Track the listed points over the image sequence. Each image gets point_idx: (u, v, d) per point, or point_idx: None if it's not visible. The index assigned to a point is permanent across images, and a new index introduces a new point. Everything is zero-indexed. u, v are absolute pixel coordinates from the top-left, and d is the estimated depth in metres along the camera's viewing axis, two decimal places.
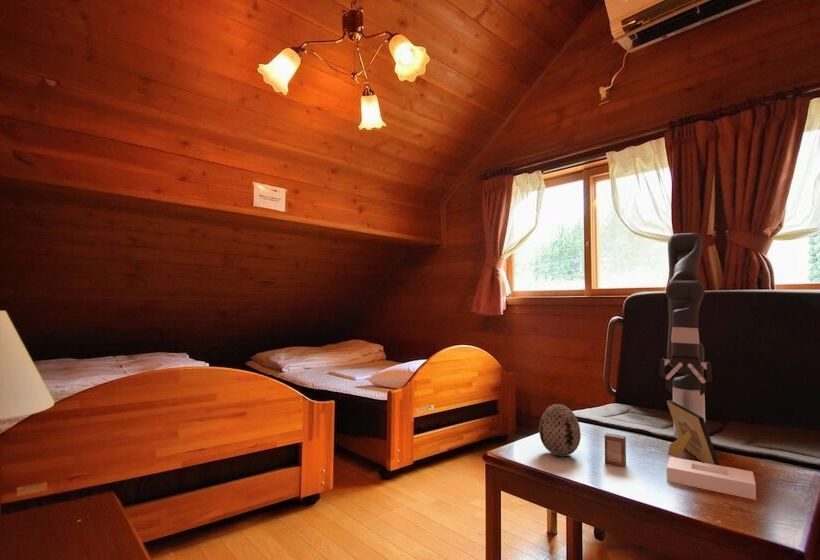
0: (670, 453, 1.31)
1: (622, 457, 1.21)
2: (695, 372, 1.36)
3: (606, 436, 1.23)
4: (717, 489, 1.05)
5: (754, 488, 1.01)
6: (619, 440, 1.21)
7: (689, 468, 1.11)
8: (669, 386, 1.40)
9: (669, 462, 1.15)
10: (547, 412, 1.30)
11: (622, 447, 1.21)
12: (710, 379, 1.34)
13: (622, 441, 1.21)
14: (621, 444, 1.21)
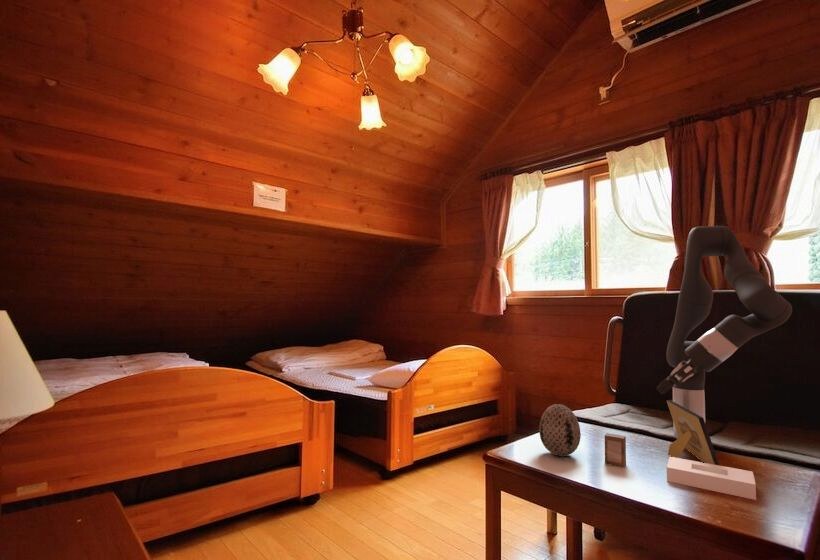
0: (670, 453, 1.31)
1: (622, 457, 1.21)
2: None
3: (606, 436, 1.23)
4: (717, 489, 1.05)
5: (754, 488, 1.01)
6: (619, 440, 1.21)
7: (689, 468, 1.11)
8: (667, 390, 1.13)
9: (669, 462, 1.15)
10: (547, 412, 1.30)
11: (622, 447, 1.21)
12: None
13: (622, 441, 1.21)
14: (621, 444, 1.21)
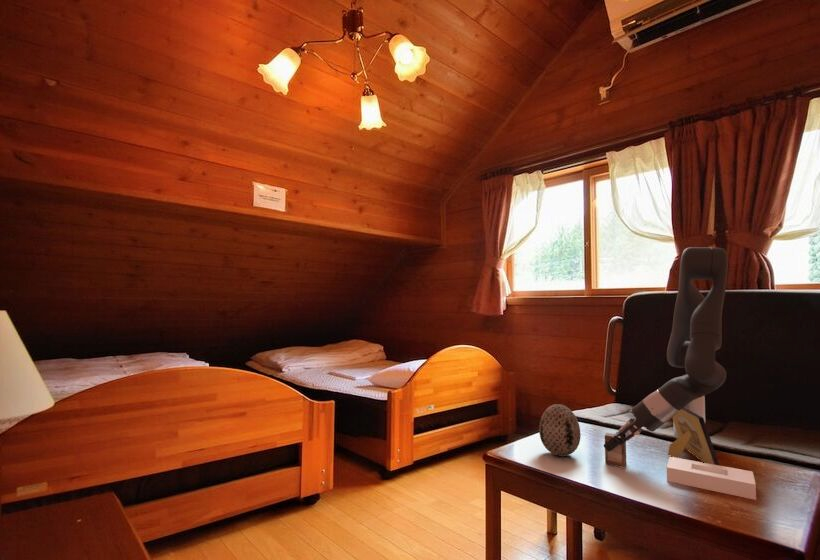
0: (670, 453, 1.31)
1: (622, 457, 1.21)
2: None
3: (606, 436, 1.23)
4: (717, 489, 1.05)
5: (754, 488, 1.01)
6: None
7: (689, 468, 1.11)
8: (613, 448, 1.22)
9: (669, 462, 1.15)
10: (547, 412, 1.30)
11: (622, 447, 1.21)
12: None
13: None
14: None
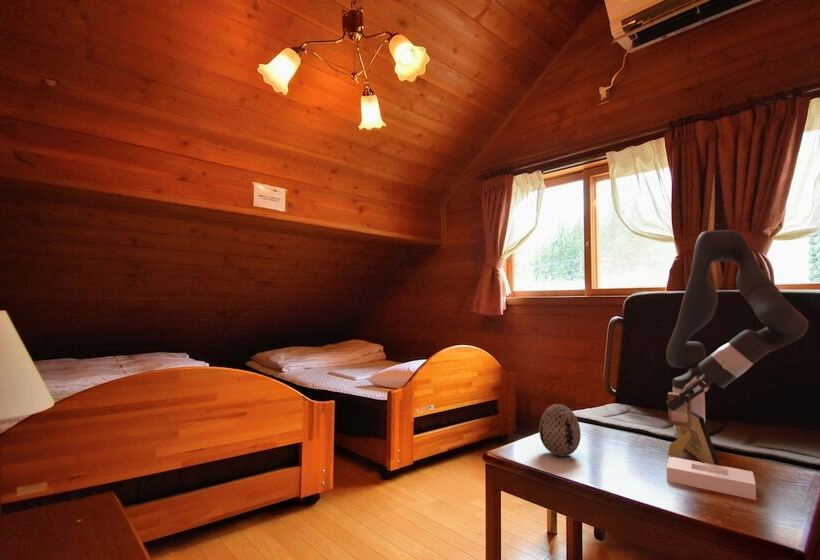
0: (670, 453, 1.31)
1: (688, 416, 1.12)
2: None
3: (669, 395, 1.15)
4: (717, 489, 1.05)
5: (754, 488, 1.01)
6: None
7: (689, 468, 1.11)
8: (678, 407, 1.14)
9: (669, 462, 1.15)
10: (547, 412, 1.30)
11: (688, 405, 1.13)
12: None
13: None
14: (687, 402, 1.13)
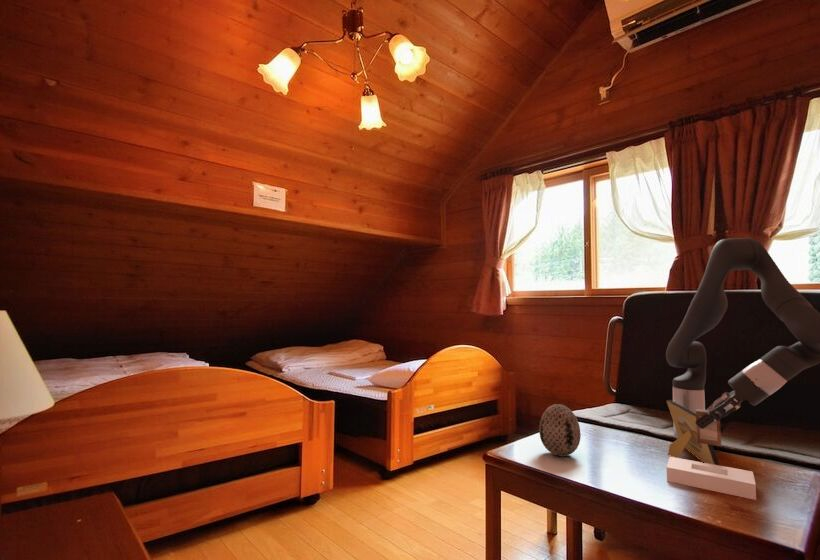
0: (670, 453, 1.31)
1: (718, 434, 1.09)
2: None
3: (698, 412, 1.11)
4: (717, 489, 1.05)
5: (754, 488, 1.01)
6: None
7: (689, 468, 1.11)
8: (707, 425, 1.10)
9: (669, 462, 1.15)
10: (547, 412, 1.30)
11: (718, 423, 1.09)
12: None
13: None
14: None
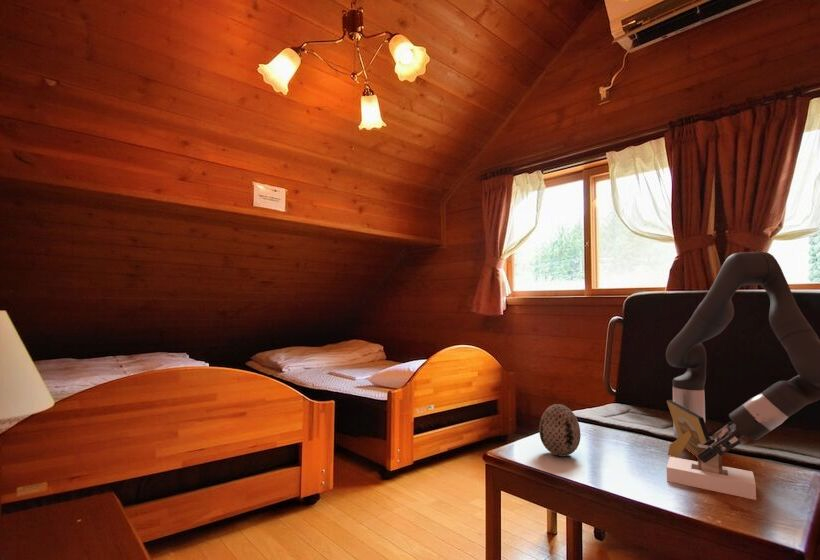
0: (670, 453, 1.31)
1: (720, 472, 1.08)
2: None
3: (700, 448, 1.11)
4: (717, 489, 1.05)
5: (754, 488, 1.01)
6: None
7: (689, 468, 1.11)
8: None
9: (669, 462, 1.15)
10: (547, 412, 1.30)
11: (720, 460, 1.08)
12: None
13: None
14: (718, 457, 1.08)
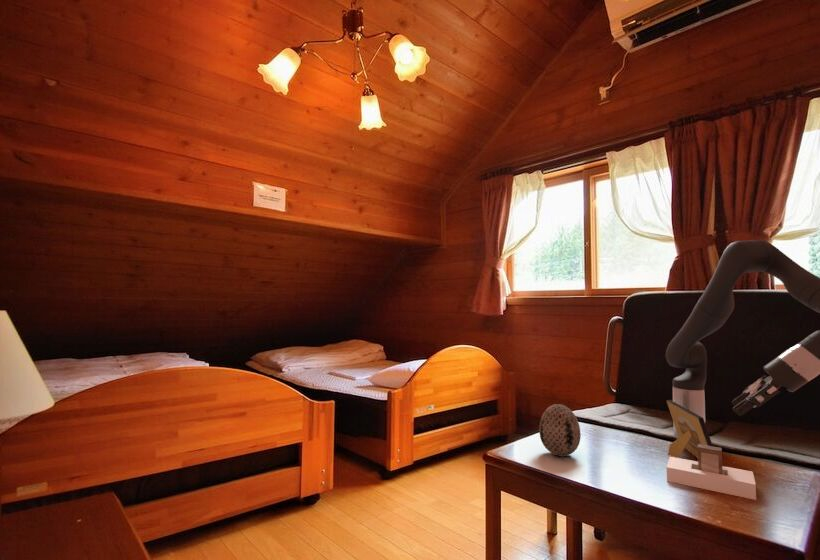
0: (670, 453, 1.31)
1: (720, 472, 1.08)
2: None
3: (700, 448, 1.11)
4: (717, 489, 1.05)
5: (754, 488, 1.01)
6: (716, 452, 1.09)
7: (689, 468, 1.11)
8: (745, 412, 1.04)
9: (669, 462, 1.15)
10: (547, 412, 1.30)
11: (720, 460, 1.08)
12: None
13: (720, 454, 1.08)
14: (718, 457, 1.08)
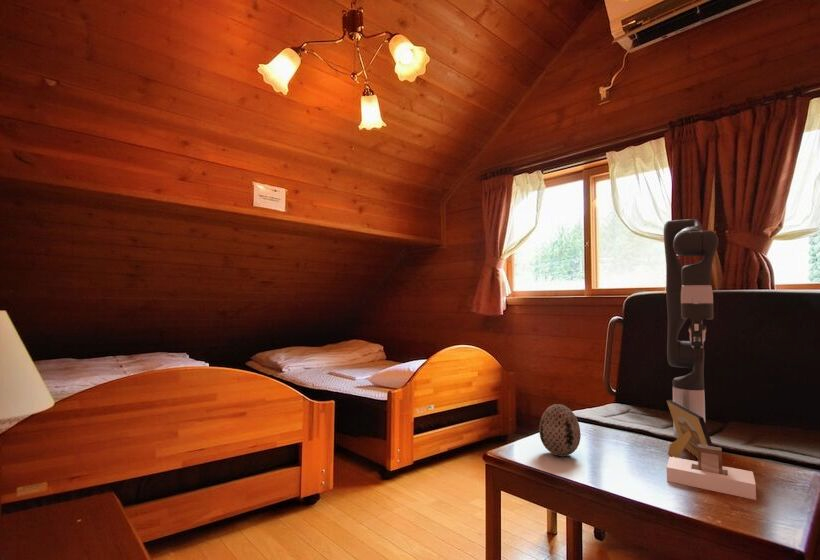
0: (670, 453, 1.31)
1: (720, 472, 1.08)
2: None
3: (700, 448, 1.11)
4: (717, 489, 1.05)
5: (754, 488, 1.01)
6: (716, 452, 1.09)
7: (689, 468, 1.11)
8: (702, 356, 1.16)
9: (669, 462, 1.15)
10: (547, 412, 1.30)
11: (720, 460, 1.08)
12: None
13: (720, 454, 1.08)
14: (718, 457, 1.08)
